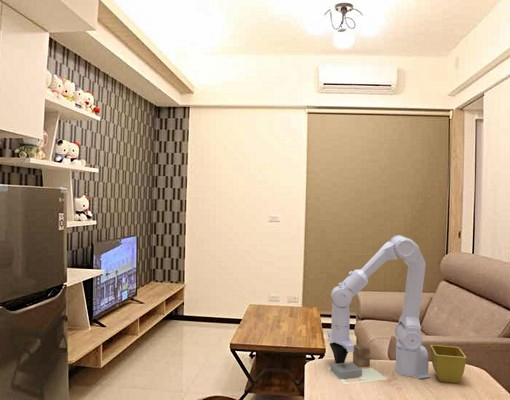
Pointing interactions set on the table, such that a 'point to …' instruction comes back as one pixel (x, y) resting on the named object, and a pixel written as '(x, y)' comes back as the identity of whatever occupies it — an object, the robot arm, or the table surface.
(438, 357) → the flower pot
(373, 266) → the robot arm
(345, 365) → the sliding cover
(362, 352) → the walnut block
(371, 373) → the puzzle board
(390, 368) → the table surface
